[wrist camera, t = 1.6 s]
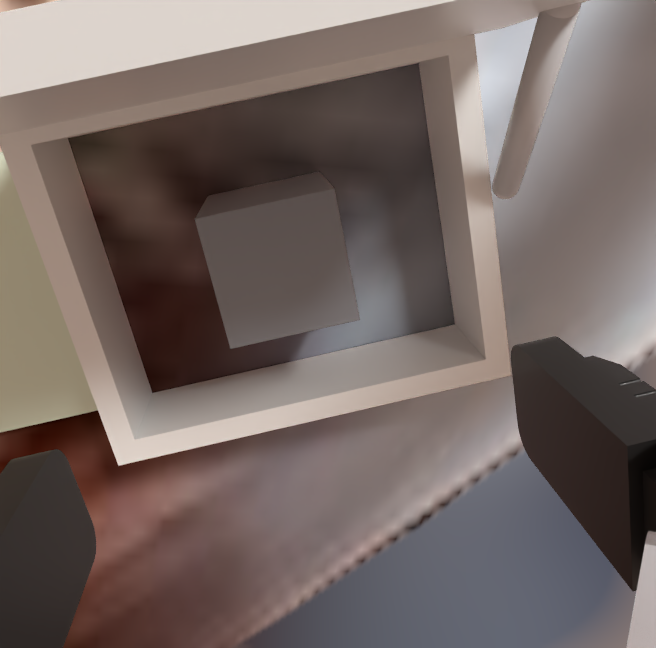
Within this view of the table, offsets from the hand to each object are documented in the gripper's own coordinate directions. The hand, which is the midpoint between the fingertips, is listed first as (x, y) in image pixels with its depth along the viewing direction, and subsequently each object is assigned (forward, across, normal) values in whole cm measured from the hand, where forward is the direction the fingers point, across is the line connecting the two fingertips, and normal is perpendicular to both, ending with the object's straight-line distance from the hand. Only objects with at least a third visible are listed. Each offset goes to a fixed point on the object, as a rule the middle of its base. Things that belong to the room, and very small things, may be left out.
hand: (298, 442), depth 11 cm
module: (+18, 0, 0) cm, 18 cm away
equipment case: (+18, 0, 0) cm, 18 cm away
